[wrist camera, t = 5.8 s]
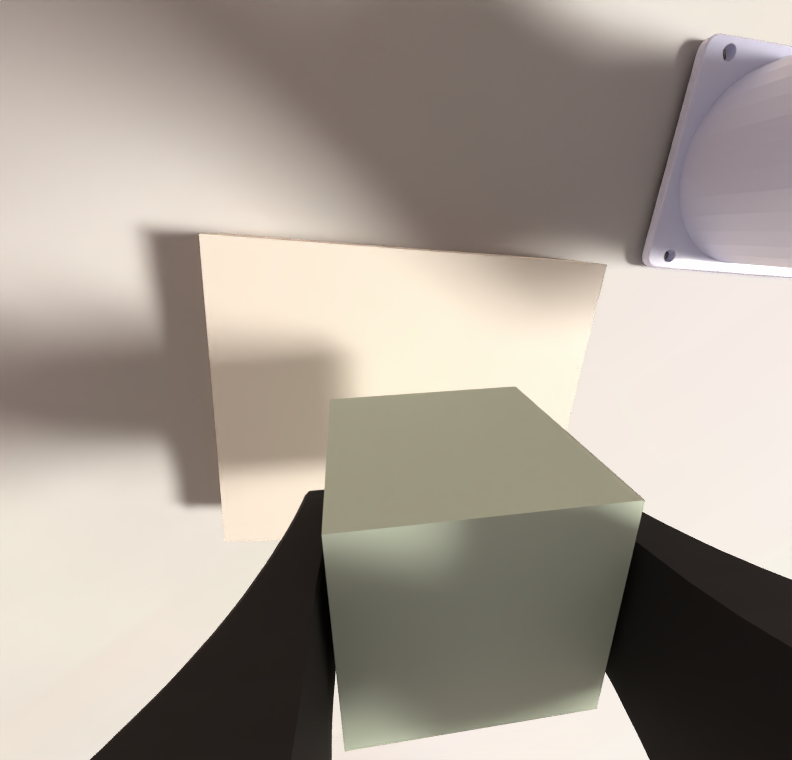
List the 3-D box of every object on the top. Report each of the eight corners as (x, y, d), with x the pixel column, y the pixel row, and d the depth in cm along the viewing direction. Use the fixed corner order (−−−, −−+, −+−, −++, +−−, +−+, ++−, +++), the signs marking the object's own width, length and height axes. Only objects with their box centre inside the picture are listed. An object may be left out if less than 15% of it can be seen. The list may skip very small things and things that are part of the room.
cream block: (564, 259, 17) (606, 264, 15) (515, 493, 21) (541, 532, 19) (224, 233, 15) (198, 233, 13) (241, 497, 19) (224, 541, 17)
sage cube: (515, 386, 11) (645, 500, 6) (502, 533, 13) (596, 709, 8) (330, 398, 10) (321, 535, 6) (343, 552, 12) (344, 751, 7)
